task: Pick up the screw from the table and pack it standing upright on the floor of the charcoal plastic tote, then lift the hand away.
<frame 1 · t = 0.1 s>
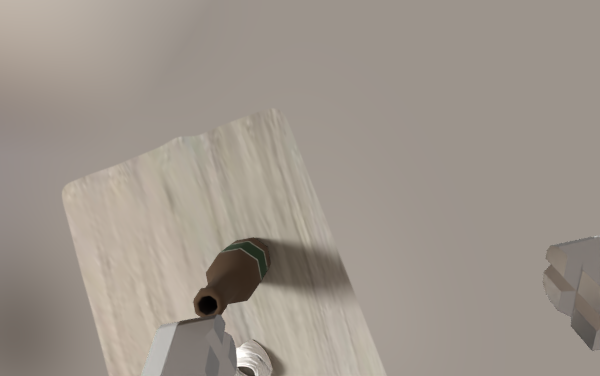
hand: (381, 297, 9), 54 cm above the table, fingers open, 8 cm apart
beer bottle: (249, 258, 65), on the table
white crumpled ring: (252, 361, 65), on the table
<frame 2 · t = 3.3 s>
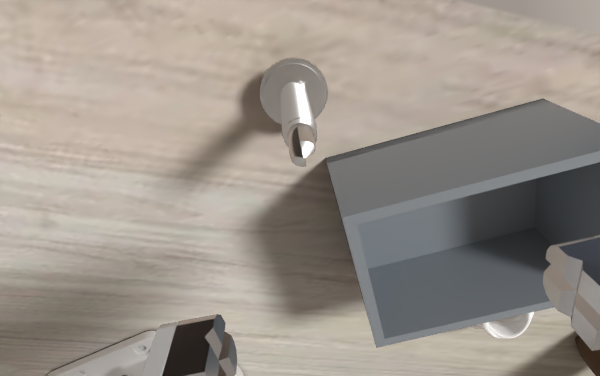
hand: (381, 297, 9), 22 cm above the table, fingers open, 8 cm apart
white crumpled ring: (486, 294, 41), on the table
tote: (438, 194, 34), on the table
screw: (292, 86, 28), on the table
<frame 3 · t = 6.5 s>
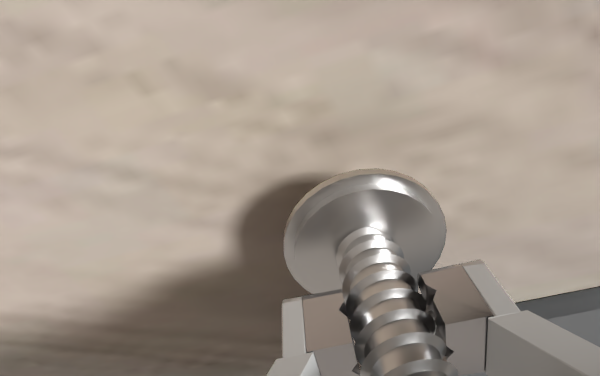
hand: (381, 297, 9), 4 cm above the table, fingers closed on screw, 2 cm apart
screw: (351, 205, 13), on the table, touching gripper
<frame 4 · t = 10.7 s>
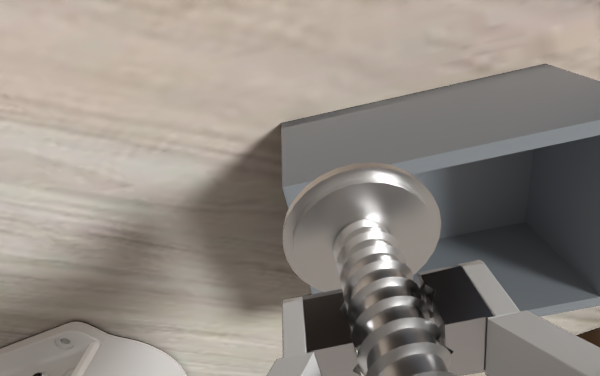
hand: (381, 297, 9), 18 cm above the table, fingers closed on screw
beer bottle: (593, 346, 40), on the table
tote: (415, 176, 28), on the table
screw: (349, 199, 13), point 13 cm above the table, touching gripper
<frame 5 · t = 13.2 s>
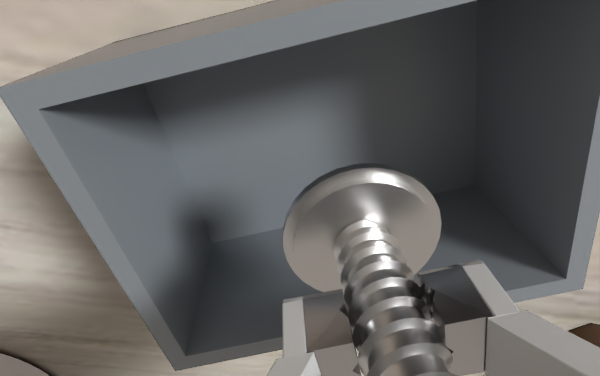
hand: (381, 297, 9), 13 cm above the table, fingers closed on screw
beer bottle: (577, 349, 33), on the table
tote: (321, 122, 21), on the table
screw: (349, 199, 13), point 9 cm above the table, touching gripper
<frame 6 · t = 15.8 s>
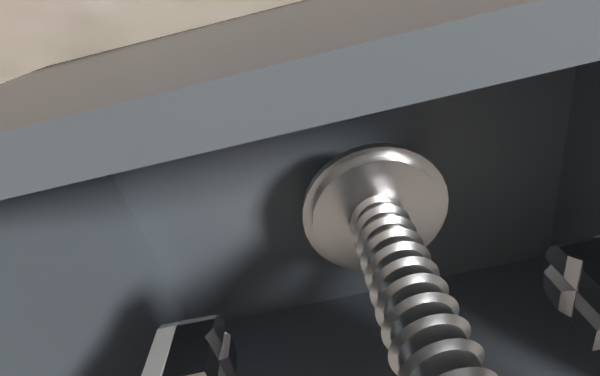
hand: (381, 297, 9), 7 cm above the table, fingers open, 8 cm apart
tote: (342, 174, 15), on the table
screw: (362, 181, 14), point 1 cm above the table, touching tote
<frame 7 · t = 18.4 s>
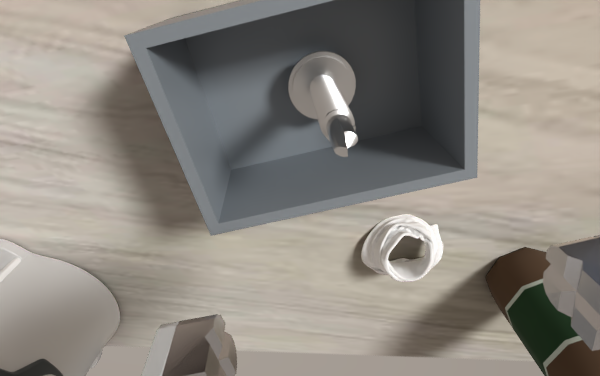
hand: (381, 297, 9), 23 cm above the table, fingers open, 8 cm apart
beer bottle: (517, 271, 41), on the table
white crumpled ring: (396, 238, 38), on the table
tote: (310, 78, 29), on the table
screw: (319, 79, 29), point 1 cm above the table, touching tote
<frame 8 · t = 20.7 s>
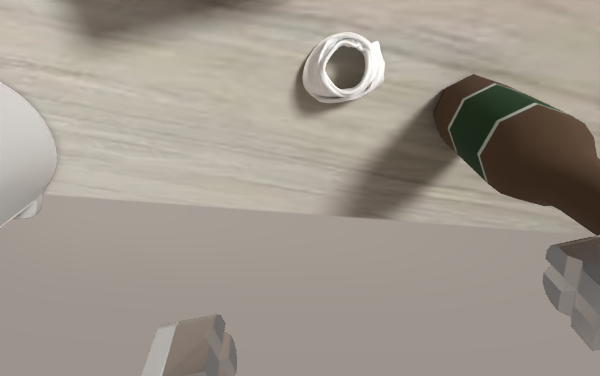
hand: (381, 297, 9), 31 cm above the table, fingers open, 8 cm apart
beer bottle: (466, 108, 40), on the table
white crumpled ring: (339, 66, 37), on the table
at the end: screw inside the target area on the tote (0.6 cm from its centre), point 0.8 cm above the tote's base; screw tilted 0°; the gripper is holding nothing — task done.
